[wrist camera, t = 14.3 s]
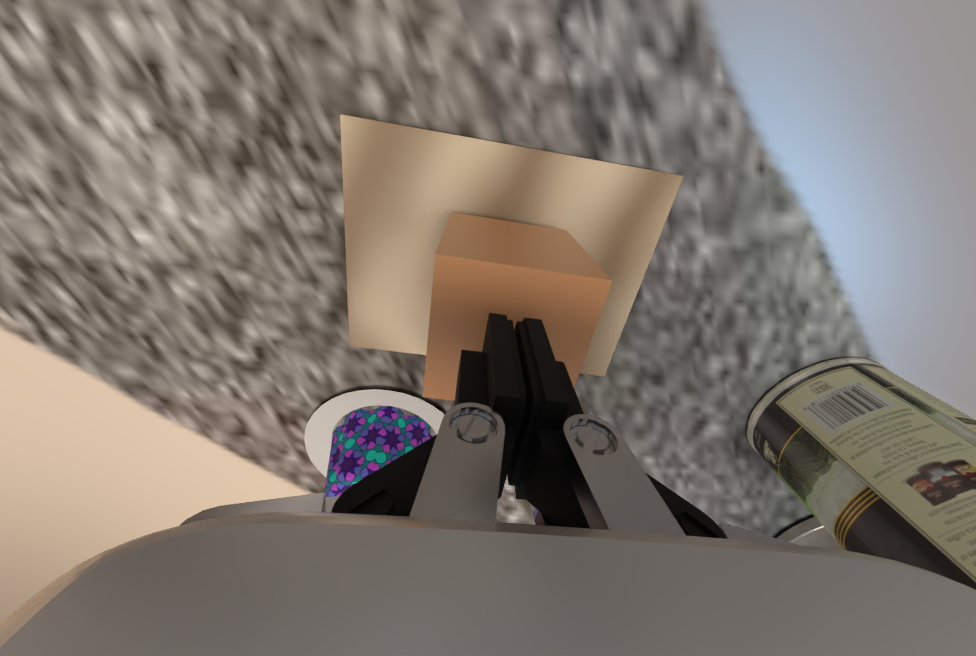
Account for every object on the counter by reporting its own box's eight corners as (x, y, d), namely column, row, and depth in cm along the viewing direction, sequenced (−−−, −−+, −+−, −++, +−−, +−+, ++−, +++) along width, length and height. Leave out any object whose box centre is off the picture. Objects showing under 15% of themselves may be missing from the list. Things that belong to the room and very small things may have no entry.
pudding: (475, 395, 25) (474, 453, 21) (452, 498, 31) (447, 562, 26) (304, 371, 24) (262, 427, 19) (312, 484, 30) (281, 547, 25)
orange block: (566, 230, 17) (612, 280, 11) (539, 330, 19) (565, 412, 14) (451, 211, 16) (435, 253, 10) (440, 317, 19) (422, 397, 13)
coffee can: (806, 472, 30) (1037, 712, 17) (716, 435, 27) (912, 683, 15) (924, 386, 25) (1346, 625, 13) (829, 333, 23) (1238, 564, 11)
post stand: (668, 173, 18) (802, 199, 10) (597, 363, 24) (651, 467, 16) (351, 116, 16) (244, 100, 9) (357, 333, 22) (294, 433, 15)
